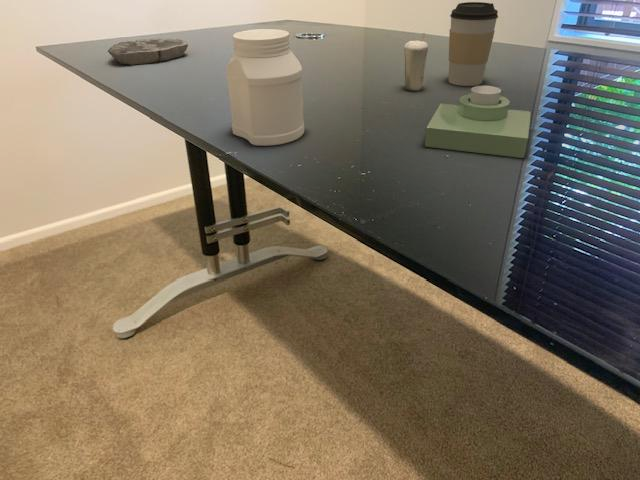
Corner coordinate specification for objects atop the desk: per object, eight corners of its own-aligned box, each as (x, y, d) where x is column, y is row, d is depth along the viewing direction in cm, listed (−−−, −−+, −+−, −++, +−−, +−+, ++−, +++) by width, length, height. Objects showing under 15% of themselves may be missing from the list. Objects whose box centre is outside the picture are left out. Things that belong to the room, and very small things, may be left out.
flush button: (500, 100, 78) (502, 86, 77) (497, 108, 75) (500, 94, 74) (471, 97, 80) (473, 84, 79) (467, 105, 76) (469, 92, 75)
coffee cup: (434, 81, 105) (442, 2, 97) (459, 73, 110) (469, -3, 102) (471, 90, 99) (482, 6, 91) (496, 81, 104) (509, 1, 96)
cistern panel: (527, 128, 81) (533, 97, 78) (524, 158, 71) (531, 124, 68) (439, 119, 85) (442, 90, 82) (424, 146, 75) (427, 113, 72)
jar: (313, 135, 80) (311, 35, 72) (262, 150, 75) (253, 44, 67) (274, 117, 88) (267, 25, 80) (225, 130, 83) (213, 32, 75)
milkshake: (430, 86, 102) (435, 34, 96) (418, 93, 98) (423, 38, 93) (409, 83, 104) (413, 31, 99) (397, 89, 100) (401, 36, 95)
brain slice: (169, 46, 140) (167, 35, 139) (197, 56, 129) (195, 44, 127) (98, 57, 130) (95, 45, 129) (121, 69, 119) (118, 56, 117)
